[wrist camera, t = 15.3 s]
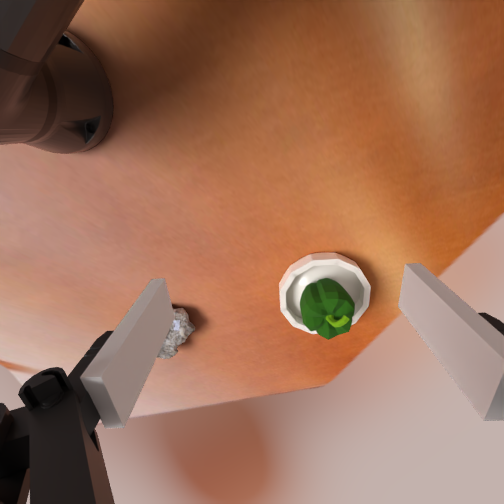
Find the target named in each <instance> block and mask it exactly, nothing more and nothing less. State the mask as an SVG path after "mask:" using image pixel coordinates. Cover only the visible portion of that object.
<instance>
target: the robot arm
mask: <svg viewBox="0 0 504 504" xmlns="http://www.w3.org/2000/svg"><path fill="white" fill-rule="evenodd" d="M83 2H84V0H0V145H4V144H17V143H24V144H27V145H30V146H33V147H36V148H39V149H42V150H45V151H49V152H53V153H61V154H69V153H77V152H82V151H86V150H89V149H91V148H93V147H94V146H96V145H97V144H98V143H99V142H100V141H101V140H102V139H103V138H104V137H105V135H106V133H107V132H108V130H109V127H110V124H111V121H112V115H113V99H112V92H111V88H110V84H109V81H108V79H107V76H106V74H105V72H104V70H103V68H102V66H101V64H100V63H99V61H98V59H97V58H96V57H95V55H94V54H93V53H92V51H91V50H90V49H89V48H88V47H87V46H86V45H85V44H84V43H83V42H82V41H81V40H79V39H78V38H77V37H76V36H74V35H73V34H71V33H70V32H68V31H66V29H67V27H68V26H69V24H70V22H71V21H72V19H73V18H74V16H75V14H76V13H77V11H78V10H79V8H80V6H81V5H82V3H83ZM398 307H399V308H400V310H401V311H402V312H403V314H404V315H405V316H406V318H407V319H408V320H409V322H410V323H411V324H412V326H413V327H414V328H415V330H416V331H417V332H418V334H419V335H420V336H421V338H422V339H423V340H424V342H425V343H426V344H427V346H428V347H429V348H430V349H431V351H432V352H433V354H434V355H435V356H436V358H437V359H438V360H439V362H440V363H441V364H442V366H443V367H444V368H445V370H446V371H447V372H448V374H449V375H450V376H451V378H452V379H453V380H454V382H455V383H456V384H457V386H458V387H459V388H460V390H461V391H462V392H463V394H464V395H465V396H466V398H467V399H468V400H469V402H470V403H471V404H472V406H473V407H474V408H475V410H476V411H477V412H478V414H479V415H480V416H481V418H482V419H483V420H484V421H489V420H490V421H491V420H493V421H494V420H504V323H502V322H501V321H500V320H498V319H496V318H494V317H492V316H490V315H488V314H487V313H477V312H476V311H475V310H474V309H472V308H471V307H470V306H469V305H468V304H467V303H466V302H464V301H463V300H462V299H461V298H460V297H459V296H458V295H456V294H455V293H454V292H453V291H452V290H451V289H449V288H448V287H447V286H446V285H445V284H444V283H443V282H441V281H440V280H439V279H438V278H437V277H436V276H435V275H433V274H432V273H431V272H430V271H429V270H428V269H427V268H425V267H424V266H423V265H422V264H421V263H412V264H405V268H404V274H403V280H402V286H401V292H400V298H399V304H398ZM174 319H175V316H174V312H173V308H172V304H171V300H170V296H169V292H168V289H167V285H166V281H165V278H162V279H151V281H150V282H149V284H148V285H147V286H146V288H145V289H144V290H143V292H142V293H141V295H140V296H139V297H138V299H137V300H136V301H135V303H134V304H133V305H132V307H131V308H130V310H129V311H128V312H127V314H126V315H125V316H124V318H123V319H122V321H121V322H120V323H119V325H118V326H117V327H116V329H115V330H114V331H107V332H105V333H104V334H103V335H101V336H100V337H99V338H98V339H97V340H96V341H95V342H94V343H93V345H92V346H91V347H90V350H88V351H87V352H86V354H85V355H84V357H83V358H82V359H81V360H80V361H79V363H78V364H77V365H76V367H75V368H74V369H73V370H72V372H71V373H70V374H69V375H68V377H67V375H66V373H65V371H64V370H63V369H62V368H59V367H55V368H49V369H46V370H43V371H41V372H39V373H37V374H36V375H34V376H32V377H31V378H30V379H29V380H28V381H26V382H25V383H24V385H23V386H22V387H21V388H20V391H19V394H18V395H19V397H20V398H21V400H22V401H23V403H24V404H25V407H21V408H18V409H15V410H11V411H9V410H8V408H7V407H6V406H5V405H4V404H3V403H0V504H26V502H27V498H28V493H29V490H30V504H115V503H114V499H113V496H112V492H111V487H110V483H109V479H108V476H107V471H106V467H105V463H104V459H103V455H102V451H101V447H100V443H99V439H98V435H97V432H96V430H95V427H96V425H97V423H98V422H99V420H100V419H101V421H102V423H103V425H104V427H105V428H124V427H125V425H126V423H127V420H128V418H129V416H130V414H131V412H132V410H133V407H134V405H135V403H136V401H137V399H138V397H139V394H140V392H141V390H142V388H143V386H144V384H145V381H146V379H147V377H148V375H149V373H150V371H151V368H152V366H153V364H154V362H155V360H156V358H157V355H158V353H159V351H160V349H161V347H162V345H163V342H164V340H165V338H166V336H167V334H168V332H169V329H170V327H171V325H172V323H173V321H174Z"/></svg>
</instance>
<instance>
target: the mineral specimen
mask: <svg viewBox="0 0 504 504" xmlns="http://www.w3.org/2000/svg"><path fill="white" fill-rule="evenodd" d="M173 312H174V316H175V319H174V321H173V323H172V325H171V327H170V329H169V332H168V334H167V336H166V338H165V340H164V342H163V345H162V347H161V349H160V351H159V353H158V355H157V357H158V358H159V357H160V358H163V359H166V358H168V359H170V358H171V357H173V356H175V354H176V353H177V352H178V350H177V346H179V345H180V344H181V343H183V342H185V340H186V339H187V337H188V335H189V334H191V333H192V332H194V330H195V329H196V328H195V326H194V325H193V324H192V323H191V322H190V321H189V319H188V318H189V317H188V316H189V315H188V313H187V312H186V311H185V309H183V308H181V309H179V308H178V309H173Z"/></svg>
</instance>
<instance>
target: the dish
mask: <svg viewBox="0 0 504 504" xmlns="http://www.w3.org/2000/svg"><path fill="white" fill-rule="evenodd" d="M324 278H329V279H332V280H335V281H336V282H338V283H339V284H340V285H341V286H342V287H343V288H344V289H345V290H346V291H347V292H348V294H349V295H350V296H351V298H352V299H353V301H354V303H355V312H354V316H353V317H352V324H351V325H353V324H355V323H356V322H357V320H358V319H359V318H360V317H361V315H362V314H363V313H364V312H365V310H366V309H367V308H368V307H369V299H370V290H371V286H370V284H369V283H368V281H367V279H366V278H365V276H364V274H363V273H362V271H361V269H360V268H359V266H358V265H357V264H356V262H355V261H352V260H350V259H349V258H347V257H345V256H343V255H340V254H337V253H335V252H333V253H331V252H320V253H314V254H309V255H307V256H304V257H302V258H301V259H299V260H297V261H296V262H294V263H293V264H292V265H290V266H289V268H288V269H287V270H286V272H285V273H284V275H283V277H282V279H281V281H280V283H279V295H280V308H281V312H282V313H283V314H284V316H285V317H286V318H287V319H288V321H289V322H290V323H291V324H292V326H294V327H296V328H299V329H301V330H304V331H306V332H309V333H311V334H318V333H317V332H316V331H310V330H309V329H308V328H307V327H306V326H305V325H304V324H303V320H302V315H301V309H300V299H301V295H302V293H303V291H304V289H305V287H306V286H307V285H308V284H310V283H317V281H318V280H319V279H324Z"/></svg>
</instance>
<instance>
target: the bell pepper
mask: <svg viewBox="0 0 504 504" xmlns="http://www.w3.org/2000/svg"><path fill="white" fill-rule="evenodd" d="M300 309H301V315H302V320H303V324H304V325H305V326H306V327H307V328H308V329H309V330H310V331H316V332H317V333H318V334H319V335H321V336H322V337H324V338H326V339H328V340H329V339H331V338H333V337H335V336H337V335H339V334H343V333H346V332H349V330H350V327H351V324H352V317H353V316H354V312H355V303H354V301H353V299H352V298H351V296H350V295H349V294H348V292H347V291H346V290H345V289H344V288H343V287H342V286H341V285H340V284H339V283H338V282H336V281H335V280H332V279H329V278H324V279H319V280H318V281H317V283H310V284H308V285H307V286H306V287H305V289H304V291H303V293H302V295H301V299H300Z"/></svg>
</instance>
